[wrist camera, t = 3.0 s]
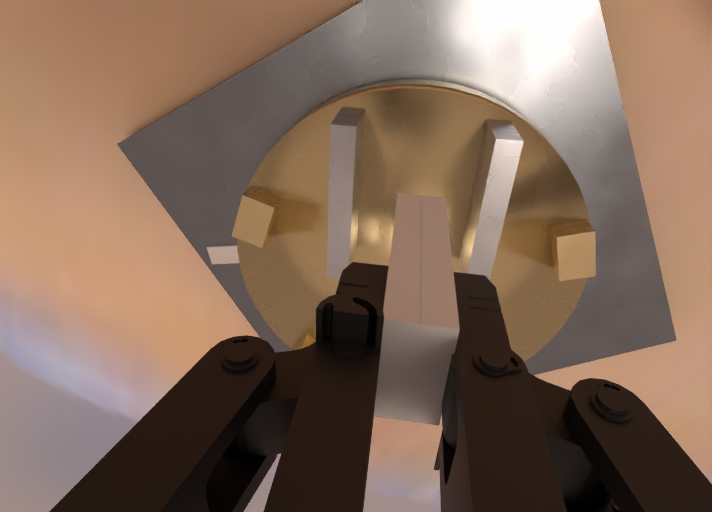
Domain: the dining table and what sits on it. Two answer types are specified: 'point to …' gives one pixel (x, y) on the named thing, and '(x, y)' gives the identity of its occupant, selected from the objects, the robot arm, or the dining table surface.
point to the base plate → (448, 64)
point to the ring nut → (419, 177)
